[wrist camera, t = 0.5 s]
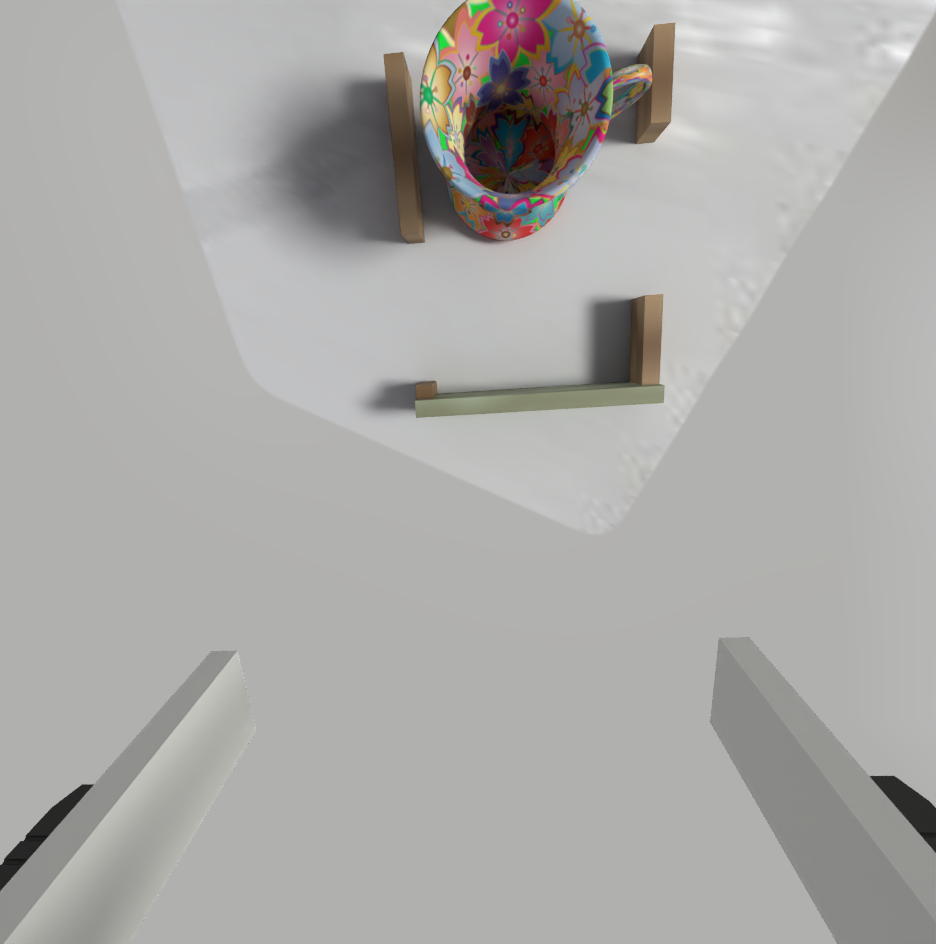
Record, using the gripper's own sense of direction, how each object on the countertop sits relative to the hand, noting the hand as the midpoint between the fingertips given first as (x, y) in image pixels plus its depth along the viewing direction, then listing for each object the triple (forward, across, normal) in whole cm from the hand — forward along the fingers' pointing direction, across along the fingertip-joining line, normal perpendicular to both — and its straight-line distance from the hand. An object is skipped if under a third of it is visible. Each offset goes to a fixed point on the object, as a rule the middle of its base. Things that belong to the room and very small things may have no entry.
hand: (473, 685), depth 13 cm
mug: (+27, +4, +20) cm, 34 cm away
